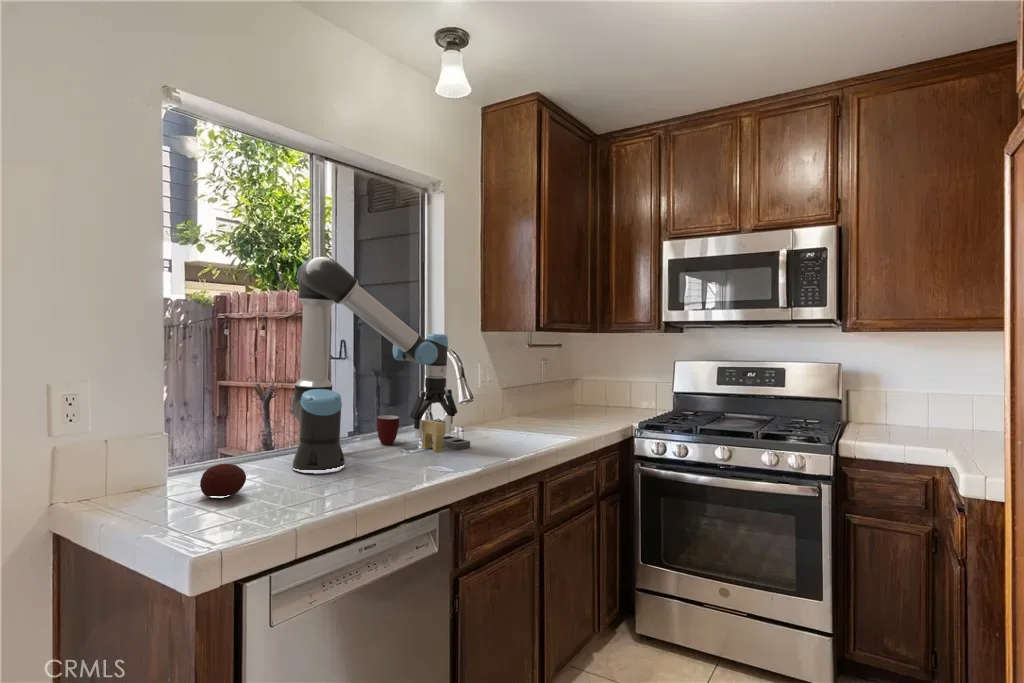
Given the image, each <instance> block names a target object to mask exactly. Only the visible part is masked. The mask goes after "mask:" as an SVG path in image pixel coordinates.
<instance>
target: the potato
mask: <svg viewBox="0 0 1024 683" xmlns="http://www.w3.org/2000/svg"><path fill="white" fill-rule="evenodd" d="M246 479H247V474H246V472H245V470H244V469H243V468H242V467H240V466H238V465H236V464H234V463H233V464H232V463H220V464H216V465H213V466H211V467H209V468H207V469H206V470H205V471H204V472H203V473H202V476H201V478H200V483H199V486H200V487H199V488H200V490H201V492H202V494H203V496H205V495H206V497H207V496H227V495H232V494H234V495H236V494H237V493H238V492H240V490H241V489H243V487H244V485H245V483H246ZM235 493H236V494H235ZM232 496H233V495H232Z"/></svg>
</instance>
